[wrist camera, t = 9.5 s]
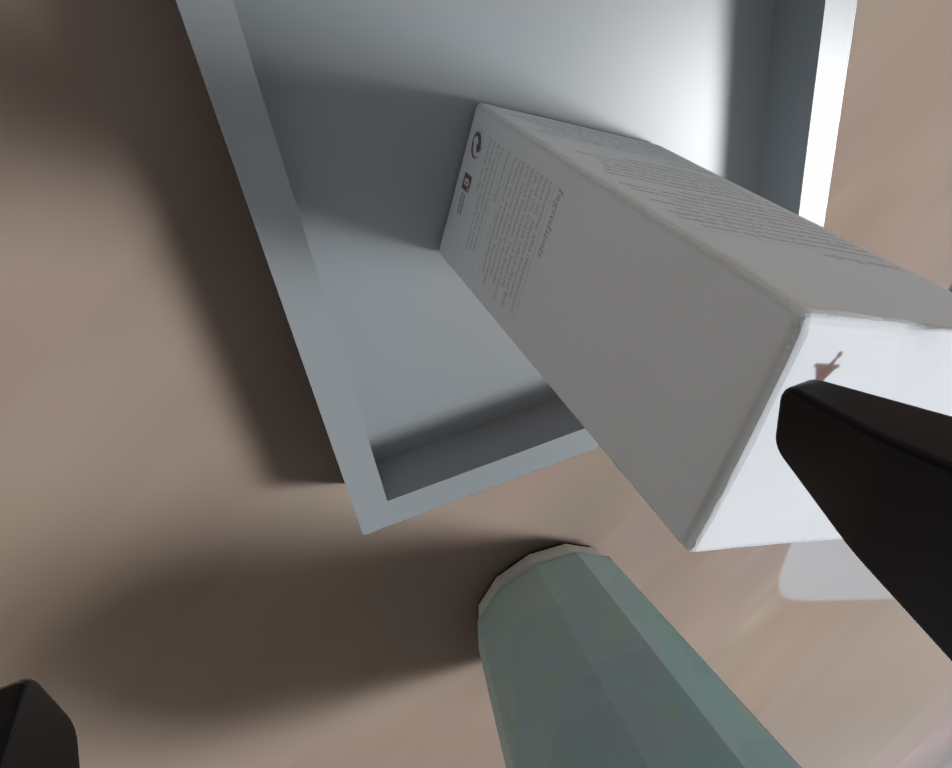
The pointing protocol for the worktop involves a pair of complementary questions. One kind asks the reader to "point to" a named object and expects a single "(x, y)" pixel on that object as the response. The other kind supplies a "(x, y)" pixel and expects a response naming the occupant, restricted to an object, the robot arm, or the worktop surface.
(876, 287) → the skincare box
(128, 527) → the worktop surface
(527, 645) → the disposable coffee cup
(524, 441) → the tray
